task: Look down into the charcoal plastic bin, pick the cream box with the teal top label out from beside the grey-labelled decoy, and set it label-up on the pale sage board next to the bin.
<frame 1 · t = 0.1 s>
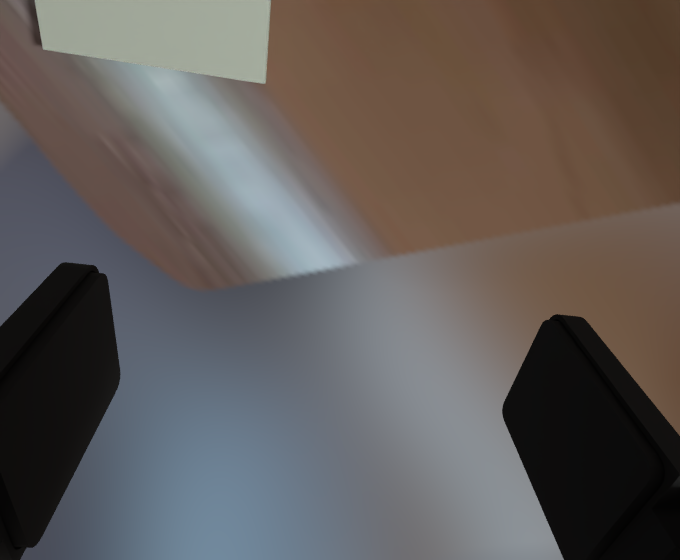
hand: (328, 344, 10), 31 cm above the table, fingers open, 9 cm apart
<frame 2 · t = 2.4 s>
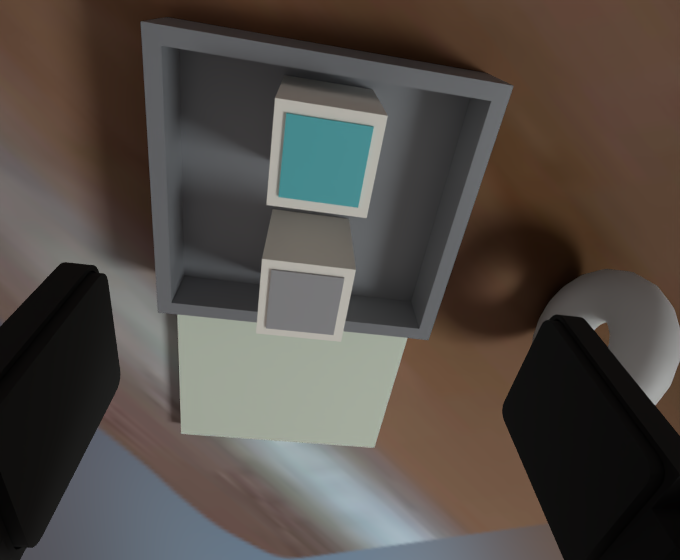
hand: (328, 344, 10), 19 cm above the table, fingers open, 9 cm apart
grey label box: (306, 247, 29), point 1 cm above the table, touching parts bin
teal label box: (323, 127, 25), point 1 cm above the table, touching parts bin
donut: (558, 299, 33), on the table
sage board: (288, 375, 36), on the table
parts bin: (314, 186, 28), on the table
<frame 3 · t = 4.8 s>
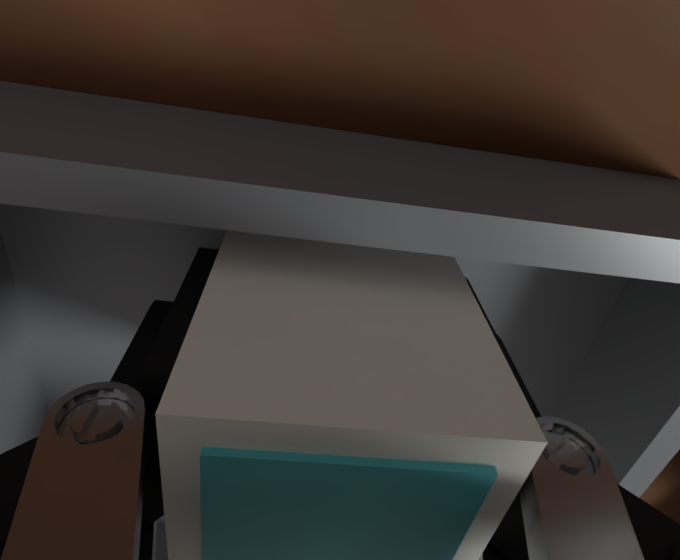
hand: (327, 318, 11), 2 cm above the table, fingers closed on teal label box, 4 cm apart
teal label box: (327, 297, 12), point 1 cm above the table, touching gripper, parts bin
parts bin: (310, 376, 14), on the table
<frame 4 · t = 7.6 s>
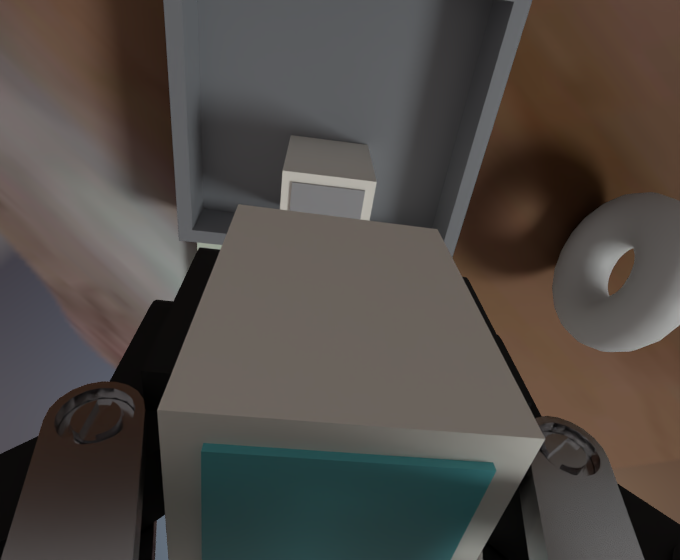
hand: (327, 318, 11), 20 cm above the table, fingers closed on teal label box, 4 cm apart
grey label box: (325, 176, 28), point 1 cm above the table, touching parts bin
teal label box: (326, 299, 12), point 19 cm above the table, touching gripper
donut: (580, 232, 32), on the table
parts bin: (332, 111, 27), on the table
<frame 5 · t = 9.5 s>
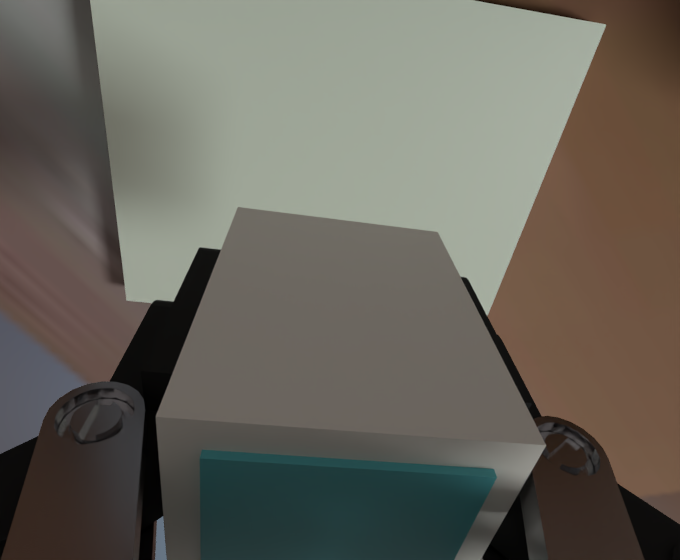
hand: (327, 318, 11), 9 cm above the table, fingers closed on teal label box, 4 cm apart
teal label box: (326, 302, 12), point 8 cm above the table, touching gripper
sage board: (329, 174, 18), on the table
when the fingers open (3 cm above the table, at t = 10.9 s): teal label box stays where it is, resting on sage board.
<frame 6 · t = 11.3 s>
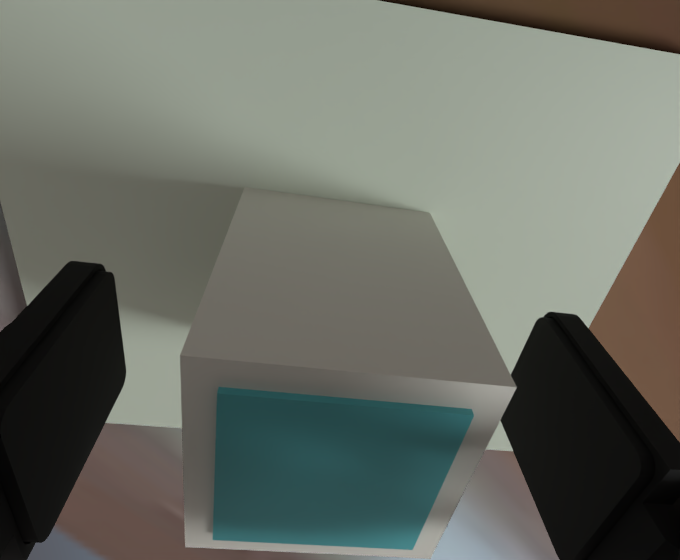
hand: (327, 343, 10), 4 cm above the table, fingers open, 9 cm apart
teal label box: (325, 279, 12), point 1 cm above the table, touching sage board
sage board: (326, 259, 13), on the table
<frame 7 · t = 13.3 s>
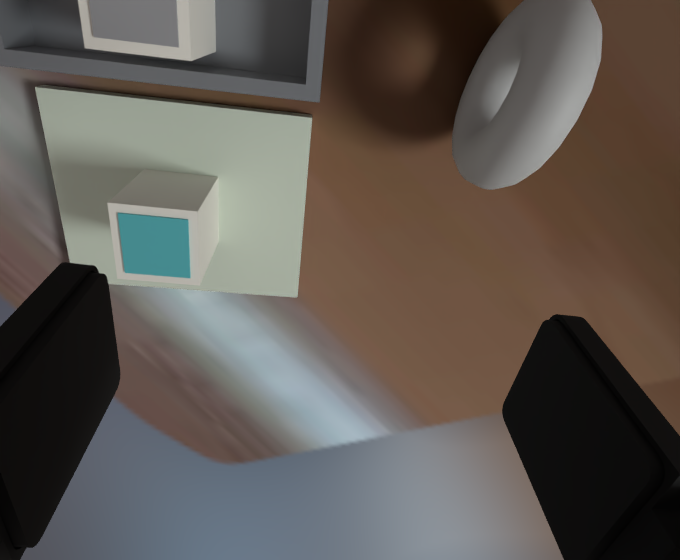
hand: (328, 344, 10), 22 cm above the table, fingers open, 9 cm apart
teal label box: (183, 206, 30), point 1 cm above the table, touching sage board
donut: (484, 82, 29), on the table
sage board: (187, 200, 31), on the table
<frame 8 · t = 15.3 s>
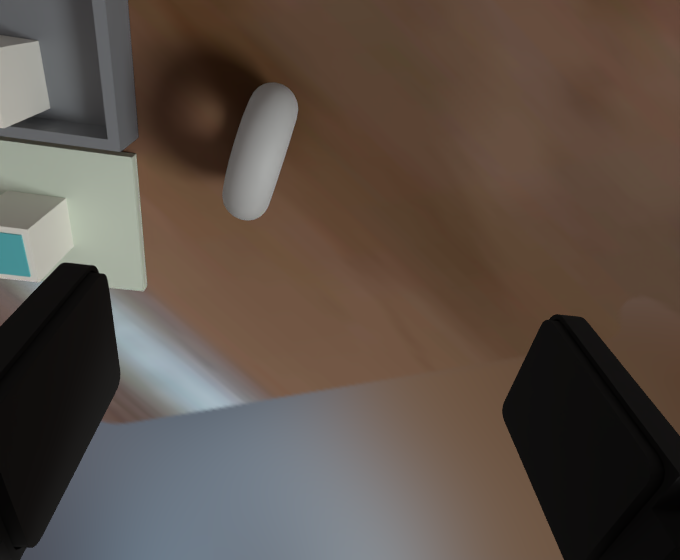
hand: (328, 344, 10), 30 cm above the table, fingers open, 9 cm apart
grey label box: (10, 70, 33), point 1 cm above the table, touching parts bin
teal label box: (41, 219, 39), point 1 cm above the table, touching sage board
donut: (267, 134, 38), on the table
sage board: (47, 214, 40), on the table
parts bin: (7, 11, 32), on the table
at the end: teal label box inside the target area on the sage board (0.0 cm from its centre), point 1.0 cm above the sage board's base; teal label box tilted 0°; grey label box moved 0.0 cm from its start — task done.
